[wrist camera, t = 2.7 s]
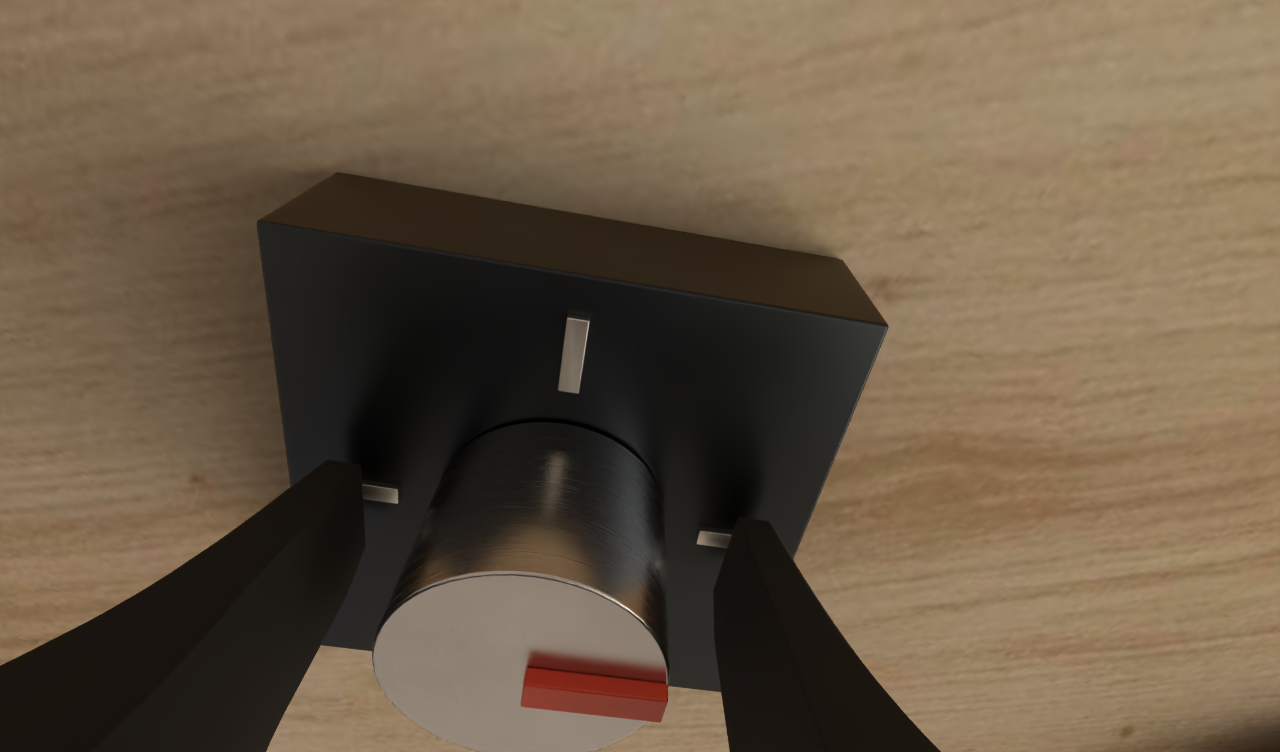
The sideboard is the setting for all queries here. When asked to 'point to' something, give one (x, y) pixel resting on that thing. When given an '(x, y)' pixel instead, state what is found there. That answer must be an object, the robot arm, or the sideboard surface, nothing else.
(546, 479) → the dimmer knob
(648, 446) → the dimmer panel
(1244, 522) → the sideboard surface
